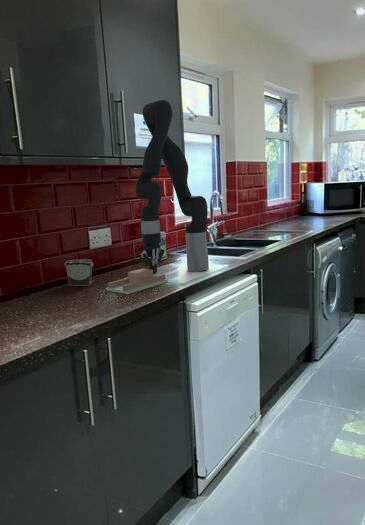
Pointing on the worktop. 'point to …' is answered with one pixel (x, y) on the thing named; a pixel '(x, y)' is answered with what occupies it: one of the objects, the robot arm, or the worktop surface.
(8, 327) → the worktop surface
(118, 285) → the chute
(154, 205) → the robot arm
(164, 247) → the white pill bottle
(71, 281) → the food container
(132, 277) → the block
